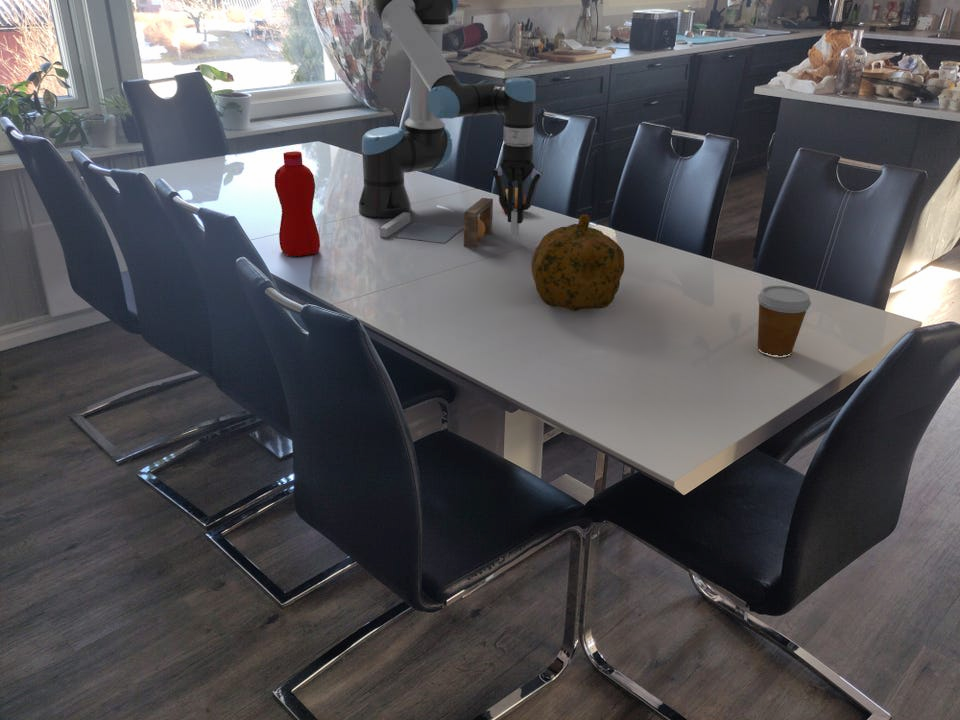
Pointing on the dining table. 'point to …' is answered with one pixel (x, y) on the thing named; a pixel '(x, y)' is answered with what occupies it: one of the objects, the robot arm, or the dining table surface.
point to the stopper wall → (394, 224)
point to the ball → (480, 228)
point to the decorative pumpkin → (577, 267)
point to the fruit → (515, 199)
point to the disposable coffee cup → (780, 318)
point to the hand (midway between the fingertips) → (514, 234)
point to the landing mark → (429, 233)
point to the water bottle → (296, 207)
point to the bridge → (471, 220)
